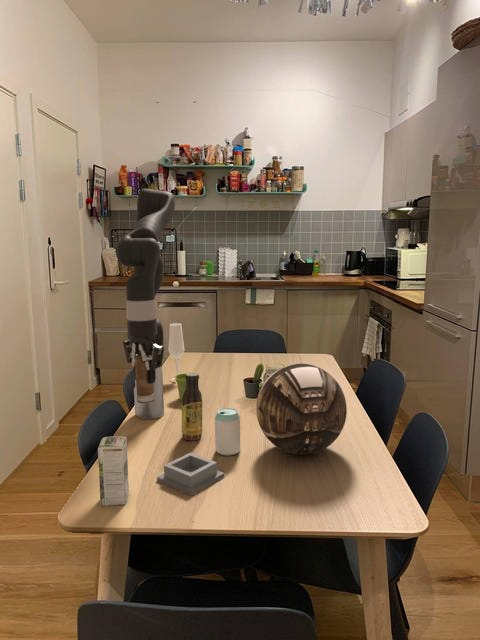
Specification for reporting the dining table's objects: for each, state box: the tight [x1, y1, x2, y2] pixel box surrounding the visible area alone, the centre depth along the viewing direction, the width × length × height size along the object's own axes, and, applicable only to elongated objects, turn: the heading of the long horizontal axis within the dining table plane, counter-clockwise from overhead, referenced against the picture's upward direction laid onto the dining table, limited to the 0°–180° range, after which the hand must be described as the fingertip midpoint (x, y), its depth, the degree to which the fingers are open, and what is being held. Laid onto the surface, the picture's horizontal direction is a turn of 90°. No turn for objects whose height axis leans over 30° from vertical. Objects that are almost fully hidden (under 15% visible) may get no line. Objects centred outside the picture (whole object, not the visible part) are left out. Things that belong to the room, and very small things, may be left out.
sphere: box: [255, 363, 348, 456], centre depth 141 cm, size 25×25×25 cm
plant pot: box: [173, 372, 201, 401], centre depth 188 cm, size 9×9×9 cm
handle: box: [135, 355, 154, 403], centre depth 132 cm, size 5×5×12 cm
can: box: [214, 407, 241, 457], centre depth 142 cm, size 7×7×12 cm
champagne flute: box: [168, 323, 185, 381], centre depth 210 cm, size 7×7×24 cm
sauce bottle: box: [181, 372, 203, 441], centre depth 152 cm, size 6×6×20 cm
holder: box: [156, 452, 225, 497], centre depth 127 cm, size 12×12×4 cm
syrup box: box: [97, 435, 130, 507], centre depth 117 cm, size 6×6×14 cm
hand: (144, 381), depth 132 cm, fingers closed on handle, 4 cm apart
